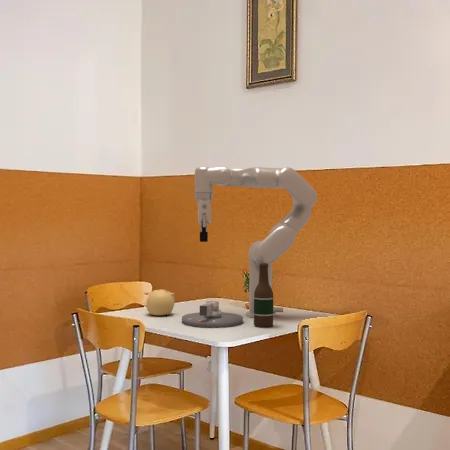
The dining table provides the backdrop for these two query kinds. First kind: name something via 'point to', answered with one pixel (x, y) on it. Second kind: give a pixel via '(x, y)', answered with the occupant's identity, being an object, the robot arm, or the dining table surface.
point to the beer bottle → (263, 300)
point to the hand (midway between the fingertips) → (203, 241)
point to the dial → (210, 309)
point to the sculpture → (160, 302)
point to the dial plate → (212, 320)
